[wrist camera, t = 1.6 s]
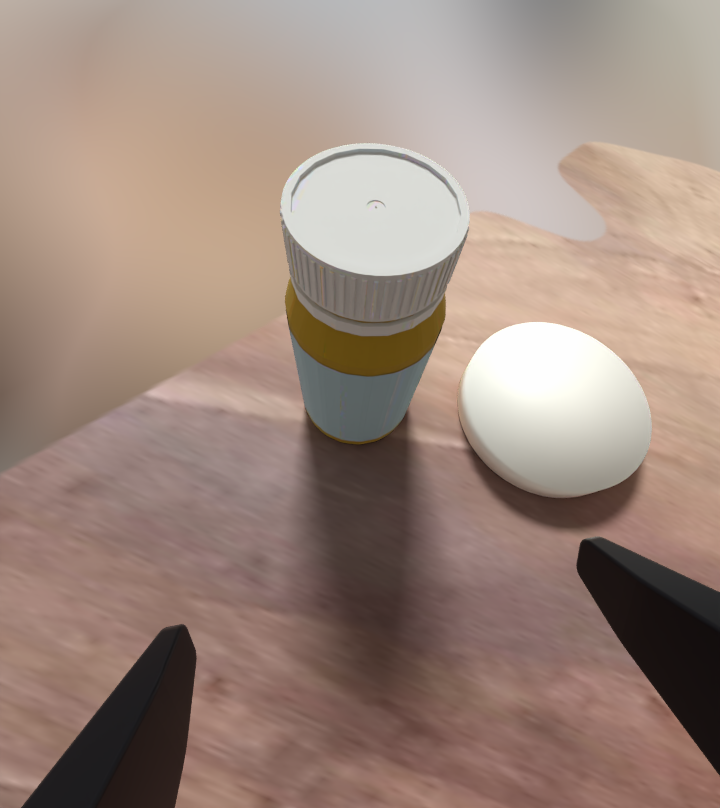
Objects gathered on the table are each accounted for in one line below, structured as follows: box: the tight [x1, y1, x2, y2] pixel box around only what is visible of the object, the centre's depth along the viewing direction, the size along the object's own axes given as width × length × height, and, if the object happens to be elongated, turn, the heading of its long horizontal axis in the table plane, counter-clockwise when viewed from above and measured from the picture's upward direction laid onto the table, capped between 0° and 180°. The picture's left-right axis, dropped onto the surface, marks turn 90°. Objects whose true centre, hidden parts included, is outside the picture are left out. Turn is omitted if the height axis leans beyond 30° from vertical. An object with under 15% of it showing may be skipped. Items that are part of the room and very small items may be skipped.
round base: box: [457, 322, 652, 498], centre depth 25 cm, size 12×12×2 cm
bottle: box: [280, 143, 470, 444], centre depth 19 cm, size 7×7×15 cm
